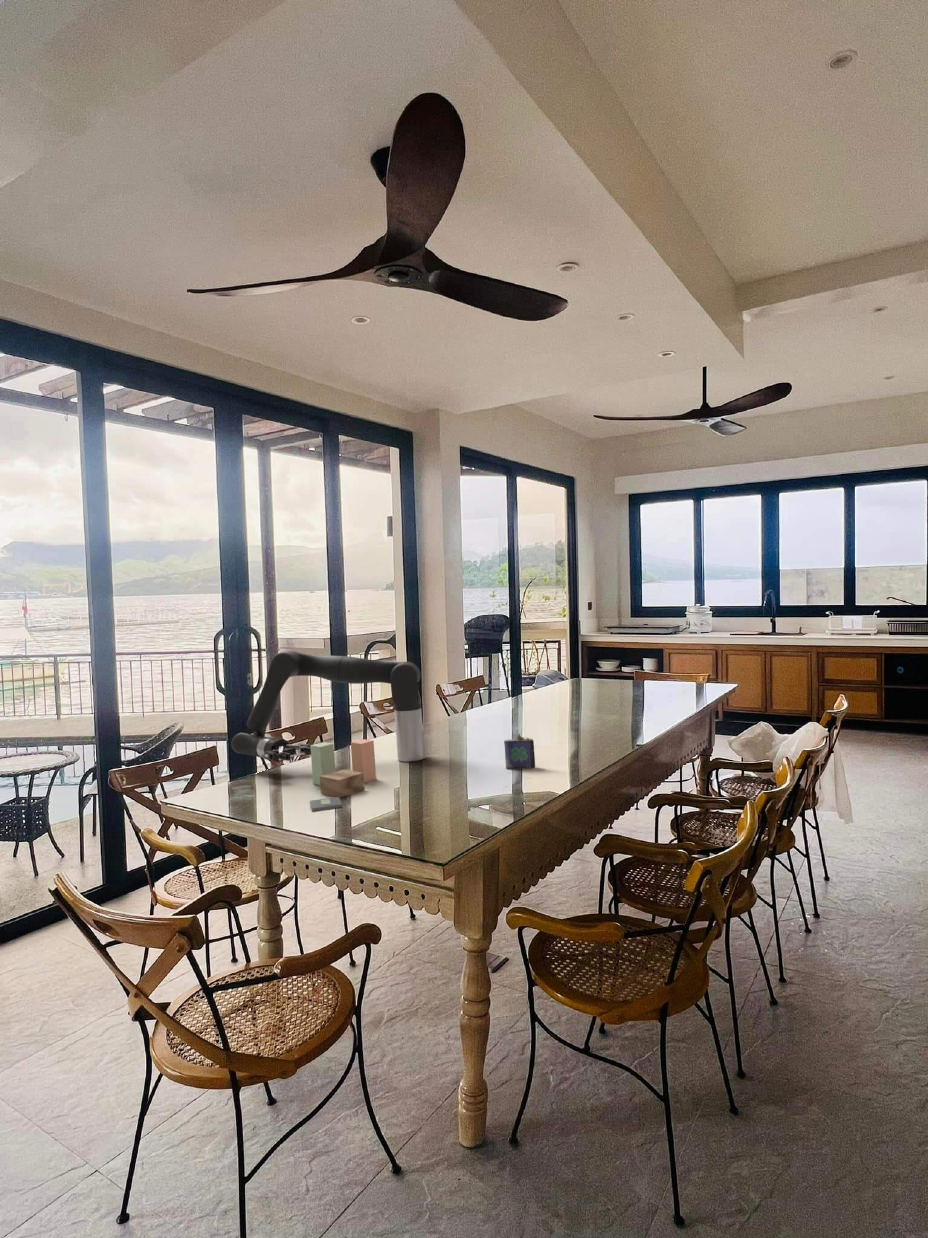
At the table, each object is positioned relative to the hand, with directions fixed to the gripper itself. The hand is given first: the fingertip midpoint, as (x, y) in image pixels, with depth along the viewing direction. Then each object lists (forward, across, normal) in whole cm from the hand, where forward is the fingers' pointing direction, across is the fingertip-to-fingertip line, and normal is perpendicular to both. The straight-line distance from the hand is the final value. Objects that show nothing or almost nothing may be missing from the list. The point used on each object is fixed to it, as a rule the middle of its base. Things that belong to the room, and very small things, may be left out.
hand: (301, 754), depth 228 cm
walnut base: (+25, -3, +8) cm, 26 cm away
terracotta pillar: (+20, +9, +8) cm, 23 cm away
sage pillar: (+11, 0, +8) cm, 14 cm away
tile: (+32, -14, +8) cm, 36 cm away
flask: (+55, +43, +7) cm, 70 cm away
